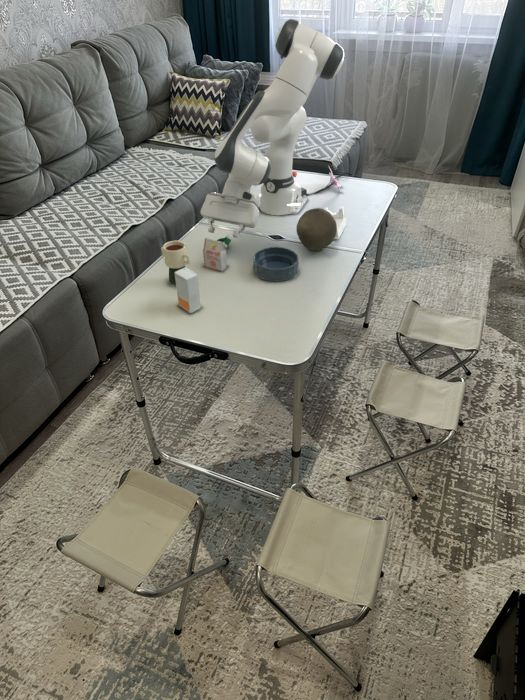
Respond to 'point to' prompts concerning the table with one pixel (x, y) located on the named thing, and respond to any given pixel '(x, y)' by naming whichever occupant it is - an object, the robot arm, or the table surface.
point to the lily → (333, 181)
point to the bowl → (275, 263)
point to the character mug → (175, 257)
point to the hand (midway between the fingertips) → (222, 234)
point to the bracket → (339, 221)
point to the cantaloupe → (316, 229)
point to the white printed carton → (214, 255)
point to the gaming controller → (225, 241)
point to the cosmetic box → (187, 290)
